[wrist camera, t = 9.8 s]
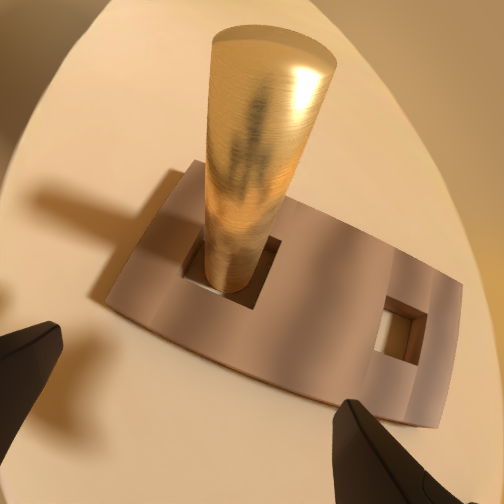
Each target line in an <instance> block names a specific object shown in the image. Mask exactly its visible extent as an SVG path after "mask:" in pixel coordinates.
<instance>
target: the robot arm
mask: <svg viewBox="0 0 504 504" xmlns="http://www.w3.org/2000/svg"><path fill="white" fill-rule="evenodd" d="M62 350H63V340H62V333H61V327H60V326H59V325H58V324H56V323H54V322H52V321H46V322H43V323H40V324H37V325H34V326H31V327H28V328H25V329H22V330H18V331H15V332H12V333H9V334H6V335H3V336H0V465H1V463H2V461H3V459H4V457H5V455H6V453H7V451H8V449H9V447H10V446H11V444H12V442H13V440H14V438H15V436H16V434H17V433H18V431H19V429H20V427H21V425H22V424H23V422H24V420H25V418H26V417H27V415H28V413H29V412H30V410H31V408H32V406H33V405H34V403H35V401H36V400H37V398H38V397H39V395H40V393H41V392H42V390H43V388H44V387H45V385H46V383H47V381H48V379H49V377H50V374H51V372H52V370H53V368H54V366H55V364H56V362H57V360H58V358H59V357H60V355H61V353H62ZM332 467H333V478H334V489H335V502H336V504H464V503H462V502H461V501H460V500H458V499H457V498H456V497H455V496H453V495H452V494H451V493H450V492H449V491H447V490H446V489H445V488H444V487H443V486H442V485H441V484H439V483H438V482H437V481H436V480H435V479H434V478H433V477H432V476H431V475H430V474H429V473H428V472H427V471H426V470H424V468H423V467H422V466H421V465H420V464H419V463H418V462H417V461H416V460H415V459H414V458H413V457H412V456H411V455H410V454H409V453H408V452H407V450H406V449H405V448H404V447H403V446H402V445H401V444H400V443H399V442H398V441H397V440H396V439H395V438H394V437H393V436H392V435H391V434H390V433H389V432H388V431H387V430H386V429H385V428H384V427H383V426H382V424H381V423H380V422H379V421H378V420H377V419H376V418H375V417H374V416H373V415H372V414H371V413H370V412H369V411H368V410H367V409H366V408H365V407H364V405H363V404H362V403H361V402H360V401H359V400H356V399H345V400H344V401H343V402H342V404H341V406H340V407H339V409H338V410H337V412H336V413H335V415H334V417H333V437H332Z"/></svg>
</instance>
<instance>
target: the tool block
mask: <svg viewBox="0 0 504 504" xmlns="http://www.w3.org/2000/svg"><path fill="white" fill-rule="evenodd" d="M205 169H206V163H203V162H200V161H198V160H194V161H193V163H192V164H191V165H190V167H189V168H188V169H187V171H186V172H185V174H184V175H183V176H182V178H181V179H180V181H179V182H178V183H177V185H176V186H175V188H174V189H173V191H172V192H171V194H170V195H169V196H168V198H167V199H166V201H165V202H164V204H163V205H162V207H161V208H160V210H159V211H158V213H157V214H156V216H155V217H154V219H153V220H152V222H151V224H150V225H149V227H148V228H147V230H146V231H145V233H144V235H143V236H142V238H141V239H140V241H139V243H138V244H137V246H136V247H135V249H134V251H133V252H132V254H131V256H130V257H129V259H128V261H127V262H126V264H125V266H124V268H123V269H122V271H121V273H120V274H119V276H118V278H117V280H116V281H115V283H114V285H113V287H112V289H111V290H110V292H109V294H108V296H107V298H106V299H105V301H104V302H105V303H106V304H107V305H108V306H110V307H111V308H112V309H113V310H115V311H117V312H118V313H120V314H122V315H124V316H125V317H127V318H129V319H131V320H132V321H134V322H136V323H138V324H140V325H142V326H144V327H145V328H147V329H149V330H151V331H153V332H155V333H157V334H159V335H161V336H163V337H165V338H167V339H169V340H171V341H173V342H175V343H177V344H179V345H181V346H183V347H185V348H187V349H189V350H191V351H193V352H195V353H198V354H200V355H202V356H204V357H206V358H209V359H211V360H213V361H215V362H217V363H220V364H222V365H224V366H227V367H229V368H231V369H234V370H236V371H239V372H241V373H243V374H246V375H248V376H251V377H253V378H256V379H258V380H261V381H264V382H266V383H269V384H271V385H274V386H277V387H280V388H282V389H285V390H288V391H291V392H294V393H296V394H299V395H302V396H305V397H308V398H311V399H314V400H317V401H321V402H324V403H327V404H330V405H333V406H337V407H340V406H341V404H342V402H343V401H344V400H345V399H356V400H359V401H360V402H361V403H362V404H363V405H364V407H365V408H366V409H367V410H368V411H369V412H370V413H371V414H372V415H373V416H374V417H377V418H381V419H385V420H389V421H394V422H398V423H403V424H407V425H412V426H417V427H423V428H436V429H438V427H439V423H440V420H441V416H442V413H443V409H444V405H445V401H446V397H447V393H448V389H449V385H450V380H451V375H452V370H453V365H454V359H455V353H456V347H457V340H458V333H459V324H460V315H461V304H462V289H463V284H461V283H459V282H458V281H456V280H454V279H452V278H451V277H449V276H447V275H445V274H443V273H442V272H440V271H438V270H436V269H434V268H433V267H431V266H429V265H427V264H425V263H423V262H422V261H420V260H418V259H416V258H414V257H412V256H410V255H408V254H407V253H405V252H403V251H401V250H399V249H397V248H395V247H393V246H391V245H389V244H387V243H385V242H383V241H381V240H379V239H377V238H375V237H373V236H371V235H369V234H367V233H365V232H363V231H361V230H359V229H357V228H355V227H353V226H351V225H349V224H347V223H344V222H342V221H340V220H338V219H336V218H334V217H332V216H329V215H327V214H325V213H323V212H321V211H319V210H316V209H314V208H312V207H310V206H307V205H305V204H303V203H301V202H298V201H296V200H294V199H292V198H289V197H287V196H285V197H284V200H283V202H282V205H281V207H280V209H279V212H278V214H277V217H276V219H275V222H274V224H273V227H272V229H271V231H270V234H269V236H268V239H267V241H266V244H265V246H264V249H266V250H269V251H271V252H273V253H276V254H275V256H274V259H273V261H272V263H271V266H270V268H269V271H268V273H267V275H266V278H265V280H264V283H263V285H262V287H261V290H260V292H259V294H258V297H257V299H256V301H255V304H254V306H253V308H252V310H251V309H249V308H247V307H245V306H242V305H240V304H238V303H235V302H233V301H231V300H229V299H226V298H224V297H222V296H220V295H218V294H215V293H213V292H211V291H209V290H207V289H204V288H202V287H200V286H198V285H196V284H194V283H191V282H189V281H187V280H185V279H183V277H184V275H185V273H186V271H187V269H188V267H189V265H190V264H191V262H192V260H193V258H194V256H195V254H196V252H197V251H198V249H199V247H200V245H201V243H202V242H203V240H204V238H205ZM383 308H385V309H388V310H390V311H392V312H394V313H397V314H399V315H401V316H404V317H406V318H408V319H410V320H412V325H411V331H410V335H409V340H408V345H407V349H406V354H405V358H404V361H402V360H399V359H396V358H394V357H391V356H388V355H385V354H383V353H380V352H377V351H375V350H373V349H374V345H375V341H376V338H377V334H378V330H379V326H380V321H381V317H382V313H383Z"/></svg>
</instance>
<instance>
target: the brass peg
mask: <svg viewBox="0 0 504 504" xmlns="http://www.w3.org/2000/svg"><path fill="white" fill-rule="evenodd" d="M336 67H337V61H336V59H335V57H334V55H333V54H332V53H331V52H330V51H329V50H328V49H327V48H326V47H325V46H323V45H322V44H321V43H319V42H317V41H316V40H314V39H312V38H310V37H308V36H306V35H303V34H301V33H298V32H295V31H292V30H288V29H284V28H280V27H274V26H266V25H242V26H235V27H231V28H228V29H225V30H223V31H221V32H219V33H218V34H216V35H215V37H214V38H213V41H212V52H211V65H210V79H209V96H208V115H207V137H206V169H205V275H206V278H207V280H208V282H209V283H210V285H211V286H212V287H214V288H215V289H216V290H218V291H221V292H224V293H234V292H238V291H240V290H242V289H244V288H245V287H246V286H247V285H248V283H249V282H250V280H251V278H252V275H253V273H254V270H255V268H256V266H257V263H258V261H259V258H260V256H261V253H262V251H263V249H264V246H265V244H266V241H267V239H268V236H269V234H270V231H271V229H272V227H273V224H274V222H275V219H276V217H277V214H278V212H279V209H280V207H281V205H282V202H283V200H284V197H285V195H286V192H287V190H288V187H289V185H290V182H291V180H292V177H293V175H294V172H295V170H296V168H297V165H298V163H299V160H300V158H301V155H302V153H303V150H304V148H305V145H306V143H307V140H308V138H309V135H310V133H311V130H312V128H313V125H314V123H315V120H316V118H317V115H318V113H319V110H320V108H321V105H322V102H323V100H324V97H325V95H326V92H327V90H328V87H329V85H330V82H331V80H332V77H333V75H334V72H335V70H336Z"/></svg>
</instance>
